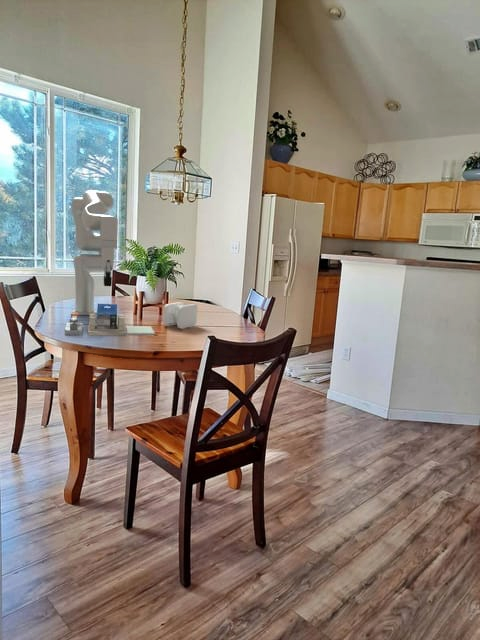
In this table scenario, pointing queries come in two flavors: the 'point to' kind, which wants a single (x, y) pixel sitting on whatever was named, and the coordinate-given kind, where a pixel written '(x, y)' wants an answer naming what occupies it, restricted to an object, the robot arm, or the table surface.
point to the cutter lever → (74, 318)
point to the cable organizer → (180, 315)
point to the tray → (139, 330)
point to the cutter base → (73, 329)
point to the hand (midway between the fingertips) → (107, 284)
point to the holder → (94, 331)
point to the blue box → (107, 316)
